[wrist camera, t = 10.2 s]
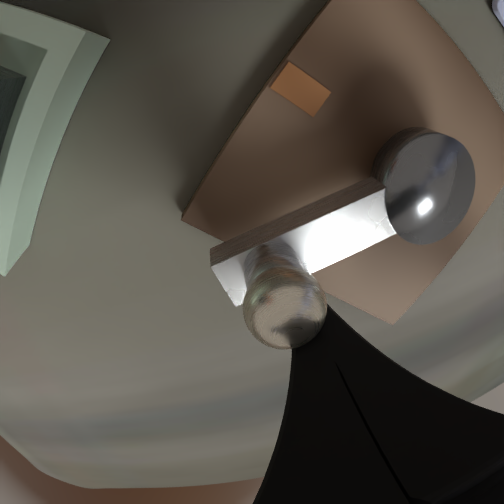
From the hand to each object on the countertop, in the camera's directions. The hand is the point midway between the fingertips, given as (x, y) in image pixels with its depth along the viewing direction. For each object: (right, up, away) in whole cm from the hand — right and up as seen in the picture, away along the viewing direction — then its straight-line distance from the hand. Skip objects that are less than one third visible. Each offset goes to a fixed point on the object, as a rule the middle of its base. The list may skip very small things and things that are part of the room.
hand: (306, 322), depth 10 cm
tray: (-12, +7, -3) cm, 14 cm away
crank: (+1, +3, 0) cm, 4 cm away
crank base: (+4, +5, +1) cm, 6 cm away
